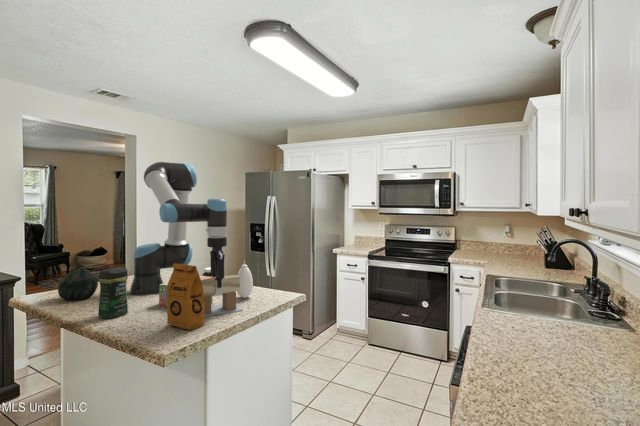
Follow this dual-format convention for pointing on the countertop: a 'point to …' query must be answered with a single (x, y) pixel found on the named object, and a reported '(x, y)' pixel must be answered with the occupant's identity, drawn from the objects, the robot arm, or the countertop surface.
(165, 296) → the stack of blocks
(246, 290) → the sauce bottle
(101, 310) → the coffee jar
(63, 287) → the squash
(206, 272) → the spread jar
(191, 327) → the coffee package
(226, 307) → the build board
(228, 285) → the bar
